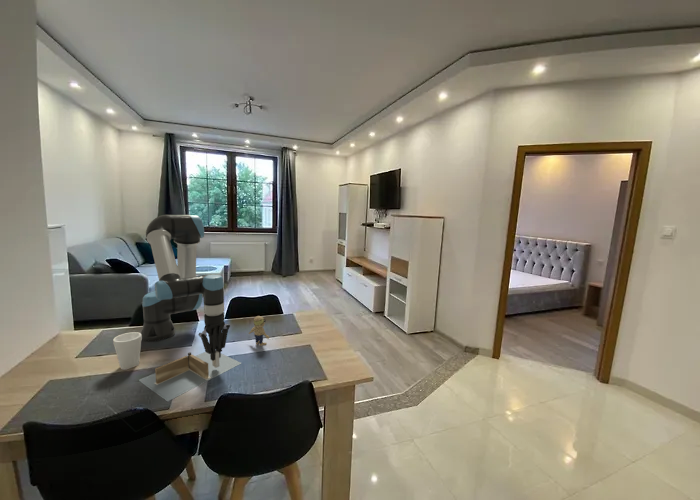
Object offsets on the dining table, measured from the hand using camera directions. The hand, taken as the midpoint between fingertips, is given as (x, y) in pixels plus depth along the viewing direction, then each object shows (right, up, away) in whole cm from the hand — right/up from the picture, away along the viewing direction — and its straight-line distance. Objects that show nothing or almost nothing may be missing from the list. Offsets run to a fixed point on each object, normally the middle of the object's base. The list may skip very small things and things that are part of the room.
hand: (216, 365), depth 122 cm
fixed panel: (-15, -2, -6) cm, 16 cm away
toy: (+11, +1, +24) cm, 27 cm away
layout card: (-9, -2, -2) cm, 9 cm away
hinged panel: (-6, -1, -3) cm, 7 cm away
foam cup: (-37, -1, +1) cm, 37 cm away
